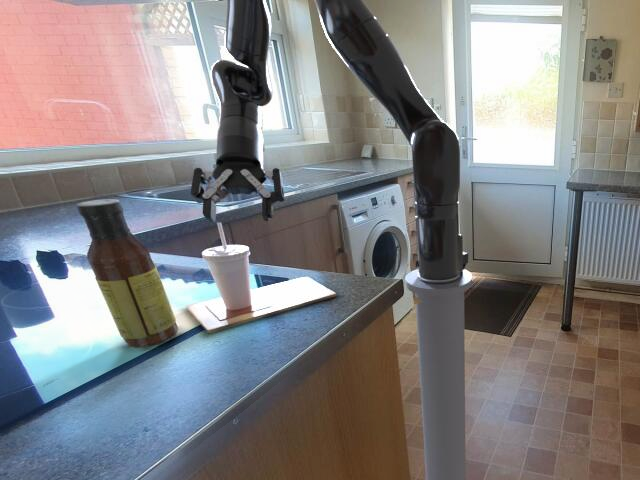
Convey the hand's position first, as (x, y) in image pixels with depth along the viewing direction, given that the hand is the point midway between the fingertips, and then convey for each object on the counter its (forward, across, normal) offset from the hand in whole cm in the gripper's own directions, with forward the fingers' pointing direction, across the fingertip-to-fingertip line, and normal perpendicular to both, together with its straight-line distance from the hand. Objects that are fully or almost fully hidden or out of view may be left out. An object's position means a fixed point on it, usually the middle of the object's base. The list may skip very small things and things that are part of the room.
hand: (238, 219), depth 73 cm
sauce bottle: (+22, -9, -4) cm, 24 cm away
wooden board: (+15, +4, +3) cm, 16 cm away
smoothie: (+16, 0, +1) cm, 16 cm away
